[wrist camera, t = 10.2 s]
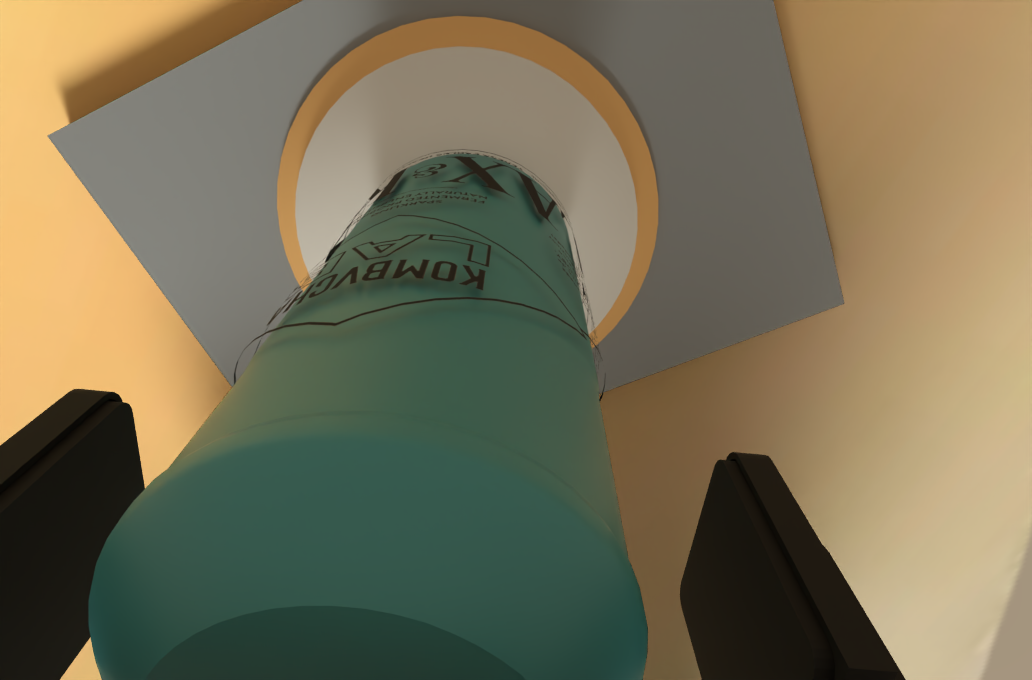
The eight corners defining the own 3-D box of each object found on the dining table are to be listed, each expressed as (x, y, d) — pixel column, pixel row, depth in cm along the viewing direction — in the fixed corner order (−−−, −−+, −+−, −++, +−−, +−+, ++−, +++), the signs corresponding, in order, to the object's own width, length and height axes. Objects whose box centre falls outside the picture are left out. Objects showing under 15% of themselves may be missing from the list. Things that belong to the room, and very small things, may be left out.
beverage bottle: (603, 276, 22) (1004, 1494, 4) (433, 359, 23) (148, 1532, 5) (510, 92, 19) (419, 1189, 1) (325, 198, 21) (-947, 1422, 3)
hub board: (829, 290, 24) (857, 315, 22) (321, 480, 28) (307, 515, 26) (709, -208, 18) (733, -235, 16) (70, 130, 22) (26, 141, 20)
